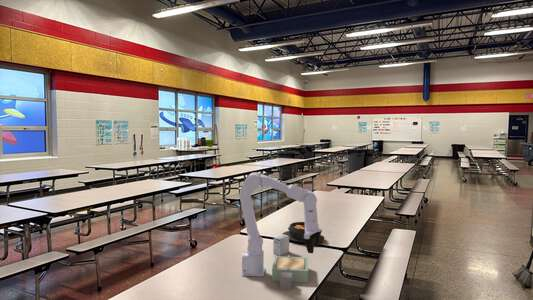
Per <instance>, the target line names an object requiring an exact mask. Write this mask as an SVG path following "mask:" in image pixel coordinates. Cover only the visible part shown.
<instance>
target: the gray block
mask: <svg viewBox="0 0 533 300" xmlns="http://www.w3.org/2000/svg"><path fill="white" fill-rule="evenodd" d="M292 285H293V282H292V273H286V272H281V274H280V281H279V290H289V291H292V288H293V287H292Z"/></svg>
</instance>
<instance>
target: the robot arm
mask: <svg viewBox="0 0 533 300" xmlns="http://www.w3.org/2000/svg"><path fill="white" fill-rule="evenodd" d="M260 186H261V188H266V187H270V188H272V189H275V190H278V191H281V192H283V193H285V194H286V197H288V198H290V199H293V200H295V201H297V202H300V203H301V202H302V203H303V220H304V221H303V222H305V234H304V236H303V237H302V240H303V241H304V243H303V244H304V245H305V248H306V251H307V253H308V254H314V250H315V249H314V248H315V247H316V248H319V244H320V242H319V239H320V235H321V234H322V232H323V229H322V228H320V225H319V219H318V209H317V203H318V199H317V197H316V194H315V193H314V192H313V191H311V190H309V189H308V188H302V187H300V186H299V185H298V184H296V183H294V184H293V183H292V184H286V183H283V182H281V181H280V180H277V179H275V178H273V177H270V176H269V175H265V174H262V173H259V172H257V171H255V172H251V173H250V174H248V176H247V177H246V178H245V180H244V181H243V184H242V185H241V188H240V191H239V196H238V197H239V200H240V206H241V210H242V215H243V219H244V223H245V228H246V233H247V243H248V244H247V248H246V249H247V251H245V252H242V255H241V257H242V258H241V276H242V277H259V278H260V277H262V278H263V277H264V276H265V272H266V267H265V266H264V265H265V264H264V263H265V262H264V261H265V259H264V257H265V256H264V250H263V244H264V239H263V237H262V236H261V234H260V231H259V229H258V225H257V220H256V215H255V210H254V207H253V201H252V194H253V193H254V192H255V191H257V190H258V189H259V188H260Z"/></svg>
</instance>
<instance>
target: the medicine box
mask: <svg viewBox="0 0 533 300" xmlns="http://www.w3.org/2000/svg"><path fill="white" fill-rule="evenodd" d="M272 243H273V248H272V249H273V251H272V252H273V253H272V254H273V255H275V256H284V255H286V254H287V253H289V252H290V239H289V236H288V235H284V234H283V233H281V234H279V235H276V236H275V237H273V242H272Z"/></svg>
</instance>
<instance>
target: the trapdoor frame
mask: <svg viewBox="0 0 533 300" xmlns="http://www.w3.org/2000/svg"><path fill="white" fill-rule="evenodd" d="M278 258H299V259H304V264H305V269H289V268H288V267H287V269H284V268H276V265H277V259H278ZM281 272H286V273H292V283H306V284H308V283H309V258H308V257H307V256H306V257H305V256H304V257H303V256H302V257H301V256H290V255H287V256H283V255H281V256H277V255H275V256H274V258H273V263H272V267H271V282H280V274H281Z"/></svg>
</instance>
